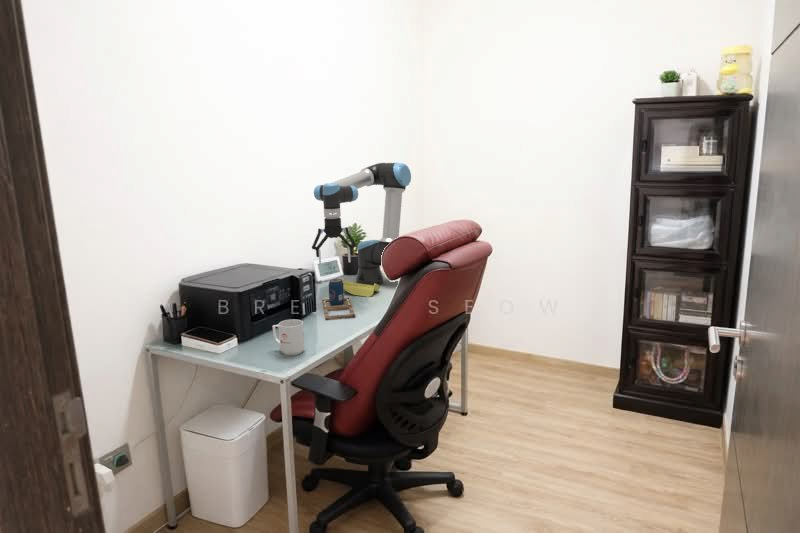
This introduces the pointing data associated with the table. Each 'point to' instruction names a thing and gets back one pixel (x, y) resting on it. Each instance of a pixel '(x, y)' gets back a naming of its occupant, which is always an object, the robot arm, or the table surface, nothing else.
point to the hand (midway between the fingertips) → (334, 262)
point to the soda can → (336, 292)
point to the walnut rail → (339, 307)
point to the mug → (290, 336)
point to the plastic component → (360, 288)
